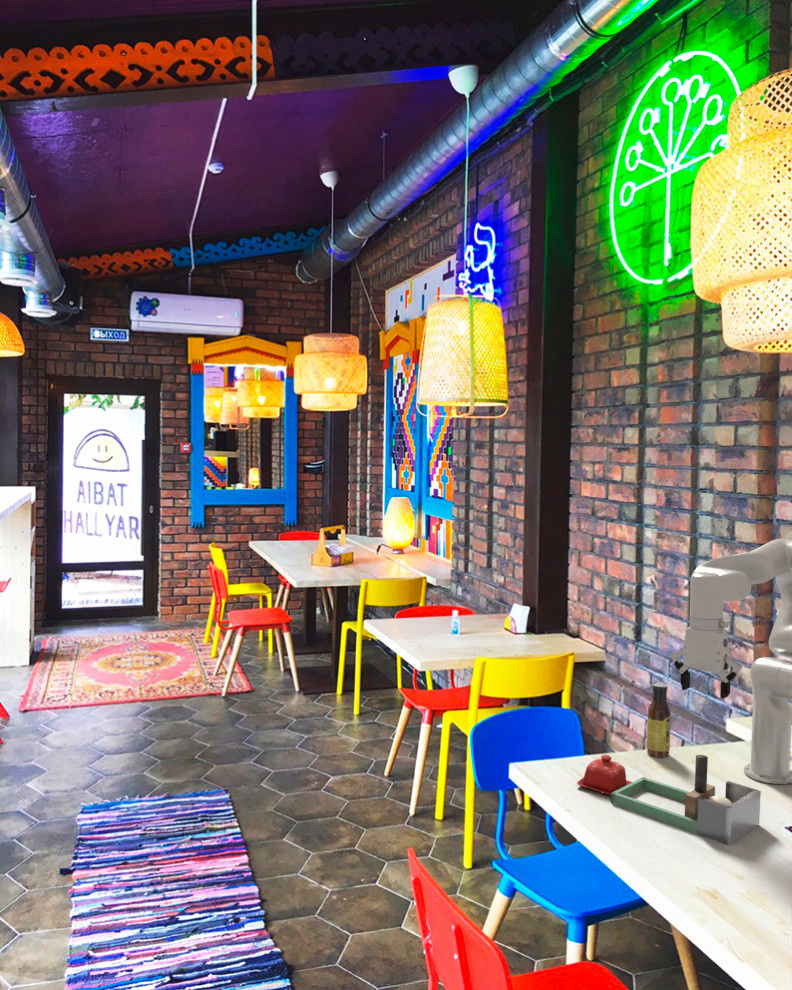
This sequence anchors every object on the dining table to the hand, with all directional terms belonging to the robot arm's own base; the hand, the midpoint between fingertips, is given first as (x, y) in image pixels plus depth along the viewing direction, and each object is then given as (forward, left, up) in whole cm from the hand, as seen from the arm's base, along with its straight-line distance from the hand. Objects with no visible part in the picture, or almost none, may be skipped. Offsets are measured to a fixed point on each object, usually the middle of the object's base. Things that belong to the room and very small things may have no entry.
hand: (704, 693), depth 202 cm
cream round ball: (+9, +9, -27) cm, 30 cm away
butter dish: (+10, -21, -28) cm, 36 cm away
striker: (+9, +4, -27) cm, 29 cm away
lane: (+9, -4, -27) cm, 29 cm away
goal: (+9, +11, -27) cm, 31 cm away
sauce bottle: (-23, -24, -27) cm, 43 cm away
